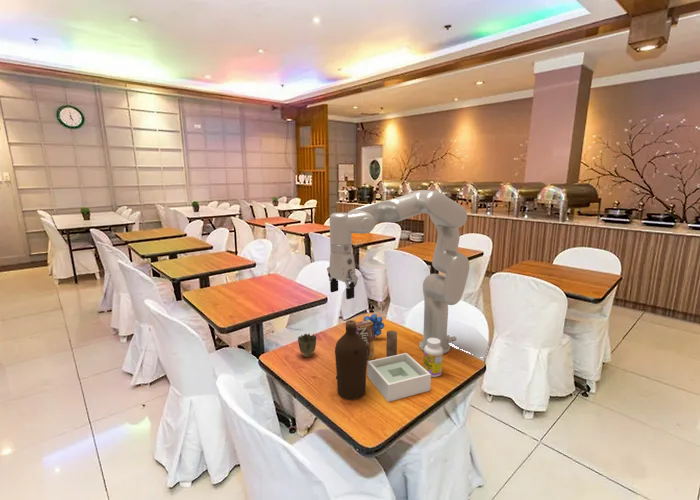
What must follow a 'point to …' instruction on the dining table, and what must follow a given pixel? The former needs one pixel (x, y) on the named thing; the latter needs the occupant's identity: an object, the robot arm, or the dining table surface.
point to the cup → (307, 344)
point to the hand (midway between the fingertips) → (342, 294)
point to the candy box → (366, 336)
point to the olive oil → (351, 363)
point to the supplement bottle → (433, 357)
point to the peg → (391, 343)
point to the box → (398, 376)
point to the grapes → (375, 323)
